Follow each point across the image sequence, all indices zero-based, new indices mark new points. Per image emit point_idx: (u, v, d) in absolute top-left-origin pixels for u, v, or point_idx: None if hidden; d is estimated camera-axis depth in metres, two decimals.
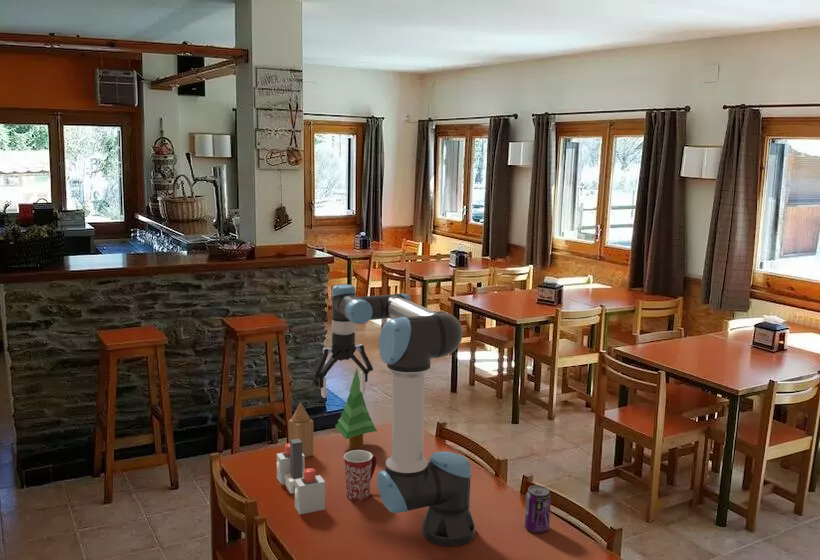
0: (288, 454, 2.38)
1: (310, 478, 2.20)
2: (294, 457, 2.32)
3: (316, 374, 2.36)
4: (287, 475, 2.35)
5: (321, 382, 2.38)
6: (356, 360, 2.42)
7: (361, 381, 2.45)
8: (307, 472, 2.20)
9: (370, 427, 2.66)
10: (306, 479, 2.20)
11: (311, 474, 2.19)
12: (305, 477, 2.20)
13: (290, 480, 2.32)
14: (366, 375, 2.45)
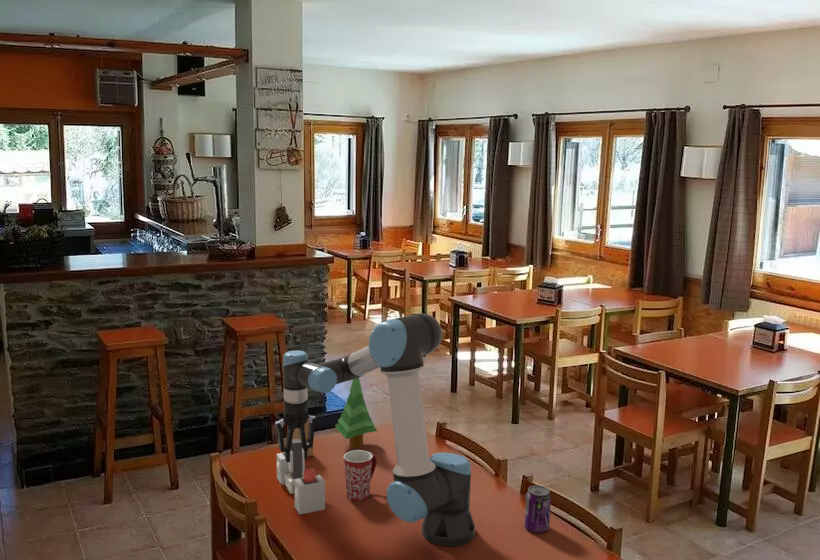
0: None
1: (310, 478, 2.20)
2: (294, 457, 2.32)
3: (282, 449, 2.30)
4: (287, 475, 2.35)
5: (288, 456, 2.32)
6: (303, 432, 2.32)
7: None
8: (307, 472, 2.20)
9: (370, 427, 2.66)
10: (306, 479, 2.20)
11: (311, 474, 2.19)
12: (305, 477, 2.20)
13: (290, 480, 2.32)
14: (305, 452, 2.34)
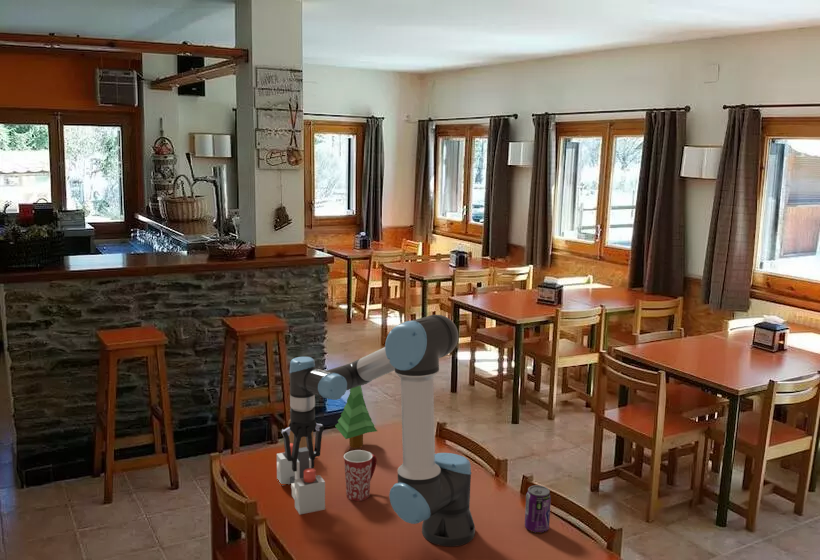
0: None
1: (310, 478, 2.20)
2: (301, 466, 2.25)
3: (288, 458, 2.23)
4: (293, 484, 2.29)
5: (294, 466, 2.25)
6: (310, 441, 2.25)
7: None
8: (307, 472, 2.20)
9: (370, 427, 2.66)
10: (306, 479, 2.20)
11: (311, 474, 2.19)
12: (305, 477, 2.20)
13: None
14: (313, 461, 2.28)
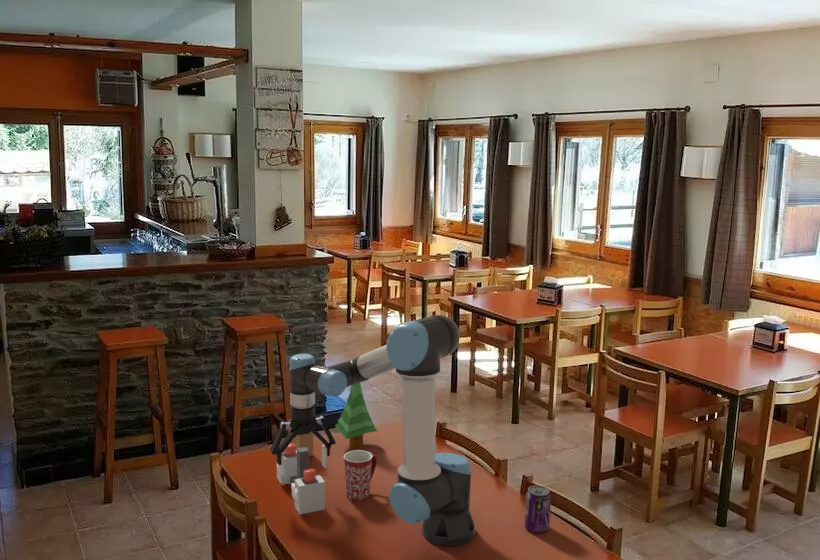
0: (288, 454, 2.38)
1: (310, 478, 2.20)
2: (301, 466, 2.25)
3: (273, 451, 2.21)
4: (293, 484, 2.29)
5: (279, 459, 2.22)
6: (317, 434, 2.26)
7: (323, 455, 2.29)
8: (307, 472, 2.20)
9: (370, 427, 2.66)
10: (306, 479, 2.20)
11: (311, 474, 2.19)
12: (305, 477, 2.20)
13: None
14: (328, 449, 2.29)
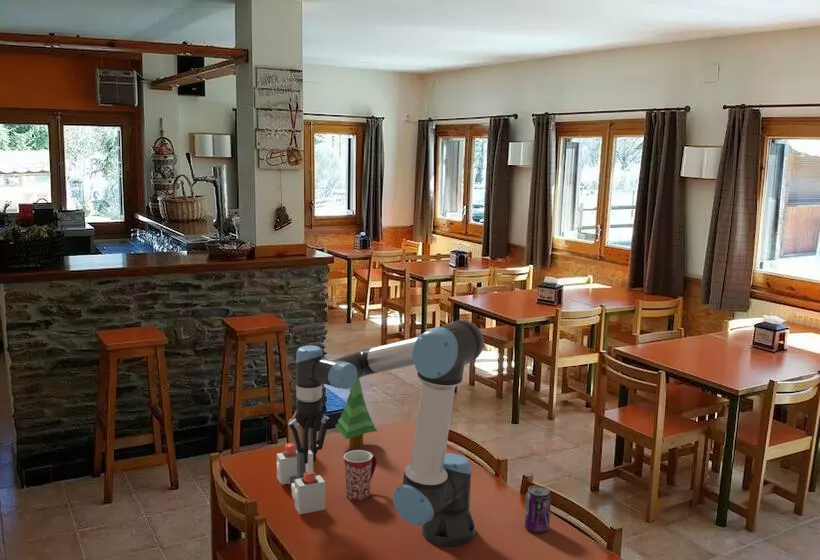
0: (288, 454, 2.38)
1: (310, 480, 2.20)
2: (301, 466, 2.25)
3: (299, 450, 2.17)
4: (293, 484, 2.29)
5: (305, 458, 2.19)
6: (314, 433, 2.18)
7: None
8: (307, 475, 2.20)
9: (370, 427, 2.66)
10: (306, 482, 2.20)
11: (311, 477, 2.20)
12: (305, 480, 2.20)
13: None
14: (314, 454, 2.20)
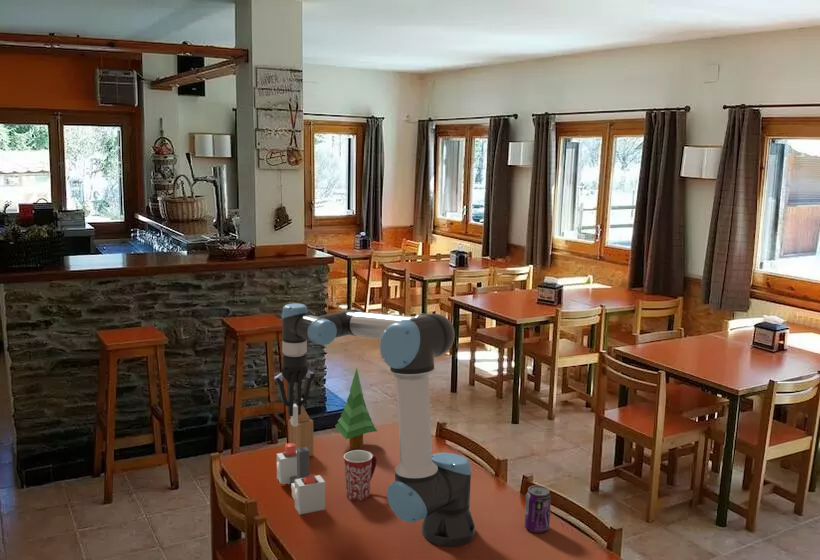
0: (288, 454, 2.38)
1: None
2: (301, 466, 2.25)
3: (285, 403, 2.28)
4: (293, 484, 2.29)
5: (291, 410, 2.30)
6: (299, 387, 2.29)
7: None
8: (307, 479, 2.20)
9: (370, 427, 2.66)
10: None
11: (311, 481, 2.20)
12: (305, 484, 2.20)
13: None
14: (299, 408, 2.31)
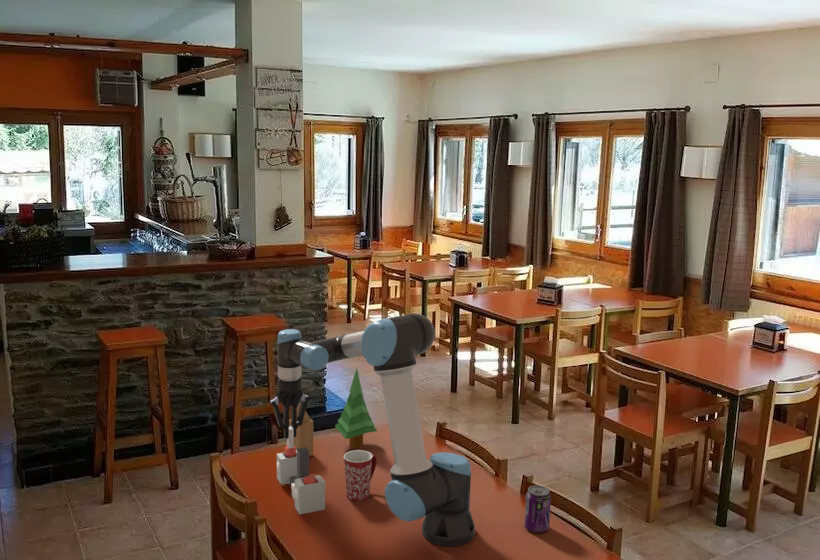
0: (288, 456, 2.38)
1: None
2: (301, 466, 2.25)
3: (280, 426, 2.35)
4: (293, 484, 2.29)
5: (286, 433, 2.37)
6: (294, 410, 2.36)
7: None
8: (307, 479, 2.20)
9: (370, 427, 2.66)
10: None
11: (311, 481, 2.20)
12: (305, 484, 2.20)
13: None
14: (295, 430, 2.38)
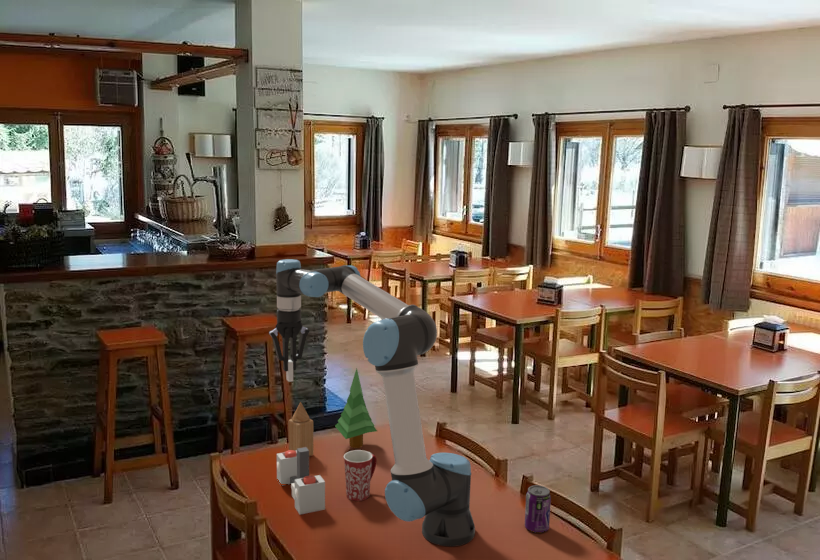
0: None
1: None
2: (301, 466, 2.25)
3: (280, 358, 2.31)
4: (293, 484, 2.29)
5: (286, 366, 2.33)
6: (294, 342, 2.32)
7: None
8: (307, 479, 2.20)
9: (370, 427, 2.66)
10: None
11: (311, 481, 2.20)
12: (305, 484, 2.20)
13: None
14: (294, 363, 2.34)
